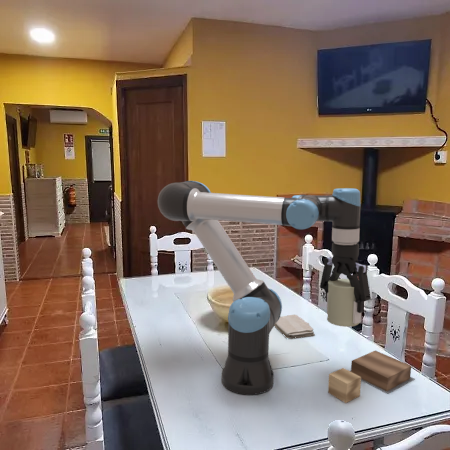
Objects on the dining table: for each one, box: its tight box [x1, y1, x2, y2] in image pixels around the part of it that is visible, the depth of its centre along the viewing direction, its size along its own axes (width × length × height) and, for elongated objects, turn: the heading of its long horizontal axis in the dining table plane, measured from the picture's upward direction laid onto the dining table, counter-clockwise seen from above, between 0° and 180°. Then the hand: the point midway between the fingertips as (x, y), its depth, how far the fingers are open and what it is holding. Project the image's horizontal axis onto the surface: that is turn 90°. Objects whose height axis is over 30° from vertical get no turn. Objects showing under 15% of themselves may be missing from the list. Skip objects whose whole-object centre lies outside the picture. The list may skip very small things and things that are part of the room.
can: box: [326, 278, 360, 328], centre depth 119 cm, size 9×9×12 cm
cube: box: [327, 367, 362, 404], centre depth 111 cm, size 6×6×6 cm
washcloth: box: [274, 314, 315, 339], centre depth 156 cm, size 12×18×3 cm, turn 18°
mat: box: [349, 370, 415, 395], centre depth 122 cm, size 14×14×1 cm
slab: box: [350, 350, 412, 391], centre depth 121 cm, size 12×12×4 cm
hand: (343, 317), depth 120 cm, fingers closed on can, 9 cm apart
